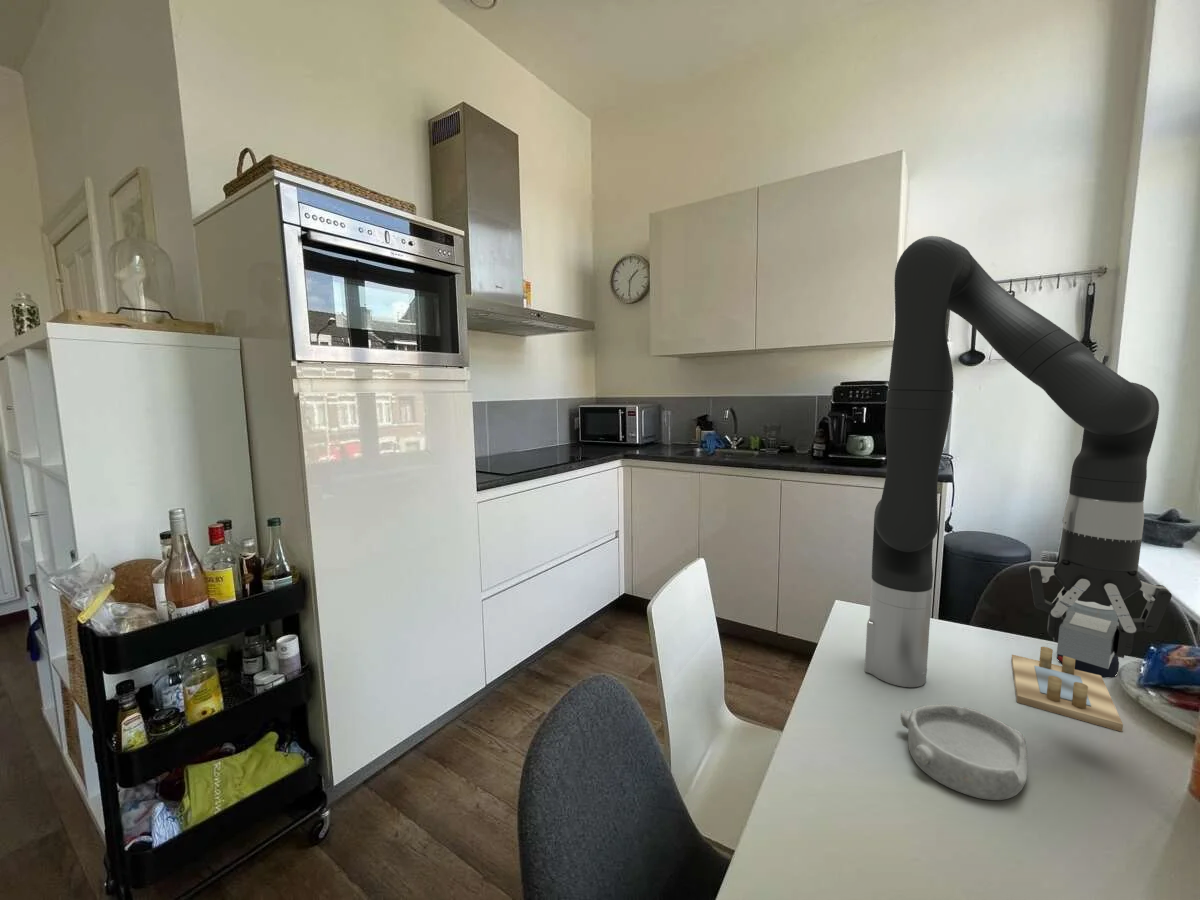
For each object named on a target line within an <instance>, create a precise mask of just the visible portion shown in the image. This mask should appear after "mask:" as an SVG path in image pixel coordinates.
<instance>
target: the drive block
mask: <svg viewBox="0 0 1200 900" xmlns="http://www.w3.org/2000/svg"><path fill="white" fill-rule="evenodd" d="M1119 624H1120V621H1118V622H1116V621H1112V620H1108V619H1104V618H1100V617H1096V616H1092V615H1088V614H1084V613H1080V612H1076V611H1072V610H1070V611H1069V612H1068V614H1067V616H1066V615H1065V617H1064V618H1063V622H1062V623H1061V625H1060V628H1059V637H1058V643H1057V646H1056V647H1057V648H1056V655H1057V654H1060V655H1063V656H1066V657H1070V658H1073V659H1076V660H1079V661H1083V662H1086V663H1089V664H1093V665H1096V666H1099V667H1102V668H1106V669H1109V666H1110V663H1111V661H1112V658H1113V655H1114V654H1115V653H1114V646H1115V639H1116V631H1117V626H1119Z"/></svg>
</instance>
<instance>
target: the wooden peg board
mask: <svg viewBox="0 0 1200 900" xmlns="http://www.w3.org/2000/svg"><path fill="white" fill-rule="evenodd" d="M1039 651H1040V654H1039V660H1037V659H1033V658H1028V657H1024V656H1020V655H1016V654H1011V661H1010V662H1011V667H1012V674H1013V675H1012V676H1013V682H1014V683H1013V684H1014V688H1015V696H1016V698H1015V699H1016V703H1018V704H1021V705H1024V706H1027V707H1031V708H1035V709H1039V710H1043V711H1046V712H1050V713H1053V714H1058V715H1060V716H1061V715H1062V716H1063V717H1068V718H1071V719H1074V720H1079V721H1083V722H1086V723H1089V724H1093V725H1097V726H1099V727H1100V726H1101V727H1103V728H1107V729H1111V730H1113V731H1118V732H1121V733H1122V732H1123V729H1124V724H1123V720H1122V718H1121V717H1120V715H1119V712H1118V710H1117V707H1116V705H1115V704H1114V702H1113V698H1112V697H1111V695H1110V692H1109V690H1108V688H1107V686H1106V683H1105V681H1104V679H1103V677H1102V676H1101V675H1096V674H1092V673H1088V672H1084V671H1080V670H1075V660H1076V659H1073V658H1070V657H1066V656H1063V662H1062V663H1061V665H1059V664H1054V663H1053V662H1052V661H1053V652H1054V651H1053V649H1052V648H1050V647H1048V646H1041V647H1040V650H1039Z"/></svg>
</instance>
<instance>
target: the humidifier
mask: <svg viewBox="0 0 1200 900" xmlns="http://www.w3.org/2000/svg"><path fill="white" fill-rule="evenodd" d="M1070 610H1072V611H1076V612H1080V613H1084V614H1088V615H1092V616H1096V617H1100V618H1104V619H1108V620H1112V621H1116V622H1119V619H1118V617H1117V615H1116V613H1115V611H1114V609H1113V607H1112V605H1110V607H1109V606H1104V605H1100V604H1098V603H1095V602H1083V601H1078V600H1076V601H1075V603H1074V604H1073V605H1072V606H1071V607H1069V608H1068V609H1067V610H1066V611H1065V617H1066V616H1067V614H1068V612H1069V611H1070ZM1057 659H1058V660H1059V661H1058V660H1057ZM1056 660H1057V661H1058V662H1059V663H1060V662H1061V664H1062V662H1063V655H1060V654H1057V653H1056ZM1119 661H1120V660H1119V657H1116V655H1115V653H1114V655H1113V658H1112V661H1111V663H1110V666H1109V669H1106V668H1102V667H1099V666H1096V665H1093V664H1089V663H1086V662H1083V661H1079V660H1075V670H1080V671H1084V672H1088V673H1092V674H1096V675H1101V676H1102V678H1105V677H1111V678H1116V677H1115V675H1116V674H1117V672H1118V673H1119V667H1120V662H1119Z"/></svg>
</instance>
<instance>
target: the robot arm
mask: <svg viewBox="0 0 1200 900" xmlns="http://www.w3.org/2000/svg"><path fill="white" fill-rule="evenodd" d="M948 310H949V311H951V312H953V313H955V314H956V315H958V316H959V317H960V318H962V319H963V320H965V322H967V323H969V324H970V325H971V326H972V327H973V328H974V329H975V330H977V332H978V333H979V334H980V335H981V336H982V337H983V338H984V340H986V341H987V343H988V344H989V345H990V346H991V347H992V349H993V350H994V351H996V353H997V354H998V355H999V356H1000V357H1002V358H1003V360H1005V361H1006V362H1007V363H1008V364H1010V366H1012V367H1013V368H1014V369H1016V371H1018V372H1019V373H1021V374H1022V375H1023V376H1024V377H1025V378H1026V379H1028V380H1030V382H1032V383H1033V384H1034V385H1036V386H1038V387H1039V388H1040V389H1042V390H1043V391H1044V393H1046V394H1047V396H1048V397H1049V398H1050V399H1051V400H1052V401H1053V402H1054V403H1055V405H1056V406H1058V408H1060V410H1062V411H1063V413H1064V414H1065V415H1066V416H1068V417H1069V418H1070V419H1071V421H1074V423H1076V424H1077V425H1078V426H1080V427H1082V428H1083V432H1082V433H1083V434H1082V439H1081V440H1082V441H1081V449H1080V451H1079V453H1078V454H1077V456H1076V457H1075V458H1074V460H1073V463H1072V468H1071V474H1070V481H1069V488H1068V489H1069V490H1068V491H1069V492H1068V493H1069V494H1068V497H1067V501H1066V503H1065V508H1064V514H1063V516H1062V519H1061V520H1062V532H1061V533H1062V534H1061V540H1060V551H1059V558H1058V561H1057V562H1056V564H1054V566H1039V565H1038V564H1035V563H1031V564H1030V565H1029V566H1028V569H1029V570H1028V571H1029V576H1030V584H1031V591H1032V592H1031V593H1032V599H1033V603H1034V604H1033V605H1034V608H1035V609H1037V610H1040V611H1043V612H1045V613H1047V614H1048V618H1047V625H1046V626H1047V627H1046V628H1047V634H1048V636H1049V637H1050V638H1052V639H1053V642H1054V643H1057V644H1058V637H1059V628H1060V625H1061V623H1062V622H1063V620H1064V617H1063V615H1064V614H1066V611H1067V609H1068V608H1069V607H1071V606H1072V605H1073V604H1074V603H1075V601H1076V600H1078V601H1083V602H1095V603H1098V604H1100V605H1104V606H1109V607H1110V605H1112V607H1113V609H1114V611H1115V613H1116V615H1117V617H1118V622H1119V626H1117V631H1116V639H1115V646H1114V654H1115V655H1116V657H1118V658H1121V659H1124V658H1125V655H1127V656H1130V655H1131V654H1132V652H1133V647H1134V646H1133V645H1134V638H1135V634H1136V633H1138V632H1147V633H1151V634H1152V633H1156V632H1157V631H1158V629H1159V627H1160V625H1161V622H1162V620H1163V617H1164V615H1165V614H1166V610H1167V609H1168V606H1169V603H1170V601H1171V600H1172V597H1173V596H1172V593H1171V592H1170V590H1169V589H1168V588H1167V587H1166V586H1165V585H1162V584H1151V583H1149V582H1148V583H1147V582H1144V581H1141V579H1140V578H1139V575H1138V570H1139V563H1140V556H1141V547H1142V540H1143V531H1144V523H1145V510H1144V500H1145V499H1144V498H1145V492H1146V483H1147V477H1148V475H1147V474H1148V467H1147V466H1148V458H1149V454H1150V452H1151V449H1152V445H1153V441H1154V438H1155V435H1156V429H1157V426H1158V421H1159V415H1160V403H1159V399H1158V397H1157V396H1156V394H1155V393H1154V392H1153V390H1151V389H1150V388H1148V387H1146V386H1145V385H1143V384H1140V383H1137V382H1132V381H1129V380H1128V379H1126V378H1124V377H1123V376H1121V375H1120V374H1119V373H1118V372H1116V371H1114V370H1113V369H1111V368H1110V367H1108V366H1107V365H1105V364H1104V363H1102V362H1101V361H1099V360H1098V359H1097V358H1096V357H1095V354H1094V353H1093V352H1092V351H1091V350H1090V349H1089V347H1087V346H1086V345H1085V344H1083V343H1082V342H1080V341H1079V340H1078V339H1077V338H1075V337H1074V336H1073V335H1071V334H1070V333H1068V332H1067V331H1065V330H1064V329H1063V328H1062V327H1060V326H1058V325H1057V324H1055V323H1054V322H1053V321H1052V320H1050V319H1048V318H1047V317H1045V316H1043V315H1042V314H1041V313H1039V312H1037V311H1036V310H1034V309H1033V308H1031V307H1030V306H1028V305H1026V304H1025V303H1023V302H1021V300H1019V299H1017V298H1016V297H1015V296H1013V295H1012V294H1011V293H1009V292H1008V291H1007V290H1005V288H1004V287H1003V286H1001V285H999V283H997V282H996V281H995V280H994V278H992V276H990V275H989V273H988V272H987V271H986V270H985V269H984V267H982V266H981V264H979V262H978V261H977V260H976V259H975V257H974V256H973V255H972V254H971V253H970V251H969V250H968V249H967V248H966V247H964V246H963V245H961V244H959V243H957V242H955V241H953V240H951V239H948V238H946V237H942V236H935V235H928V236H923V237H922V238H919V239H917V240H915V241H913V242H912V243H911V244H910V245H908V246H907V247H906V248H905V250H904V251H903V252H902V254H901V255H900V257H899V258H898V261H897V263H896V267H895V271H894V335H893V343H892V344H893V345H892V351H891V360H890V362H891V363H890V368H889V369H890V370H889V371H890V372H889V379H888V385H887V394H886V403H885V422H884V424H885V425H884V426H885V427H884V428H885V430H884V431H885V432H884V433H885V435H884V437H885V447H886V448H885V450H886V474H885V479H884V480H885V481H884V483H883V489H882V495H881V498H880V500H879V501H878V503H877V505H876V506H875V510H874V516H873V536H872V551H871V552H872V555H871V558H872V559H871V580H870V581H871V582H870V585H871V586H870V598H869V599H870V600H869V601H870V605H869V618H868V620H867V623H866V634H865V635H866V639H865V640H866V641H865V656H864V657H865V659H864V672H865V673H869V674H870V675H872V676H874V677H875V678H877V679H879V680H881V681H883V682H885V683H888V684H891V685H894V686H898V687H904V688H917V687H921V686H923V685H925V684H926V682H927V674H928V659H929V658H928V655H929V643H930V642H929V640H930V638H929V637H930V624H931V610H932V596H933V595H932V594H933V578H934V570H933V568H934V567H933V546H934V545H933V544H934V539H935V537H936V535H937V533H938V530H939V515H938V514H939V513H938V480H939V479H938V478H939V469H940V466H941V465H940V464H941V460H942V456H943V453H944V447H945V444H946V439H947V433H948V427H949V423H950V416H951V412H952V402H953V395H954V394H953V392H954V370H953V369H954V368H953V364H952V357H951V353H950V349H949V344H948V339H947V338H948V337H947V331H946V323H947V321H946V320H947V313H948ZM1052 576H1054V577H1056V578H1057V580H1058V582H1059V583H1060V584H1061V585H1062V588H1061V590H1060V591H1059V592H1058V593H1057V596H1056V597H1055V598H1054V599H1053V601H1052V602H1050V601H1049V600H1047V599H1045V591H1044V584H1043V583H1048V582H1050V578H1051V577H1052ZM1138 591H1142V596H1143V598H1144V599H1145V600H1146V604H1145V606H1144V609H1143V610H1142V612H1141V615H1140V617H1138V618H1135V617H1133V618H1132V616H1131V615H1130V612H1129V610H1128V607H1127V606H1126V603H1125V602H1124V600H1127V598H1130V597H1131V596H1132V595H1134V594H1135V593H1136V592H1137V593H1138Z"/></svg>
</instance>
